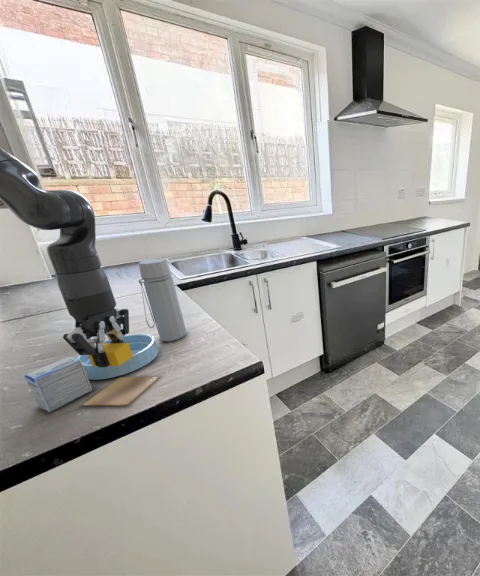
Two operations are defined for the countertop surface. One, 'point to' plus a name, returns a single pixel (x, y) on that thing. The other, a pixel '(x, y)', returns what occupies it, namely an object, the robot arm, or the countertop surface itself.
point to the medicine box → (58, 383)
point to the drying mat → (121, 391)
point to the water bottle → (162, 299)
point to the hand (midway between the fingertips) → (112, 360)
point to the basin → (142, 355)
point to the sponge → (115, 353)
